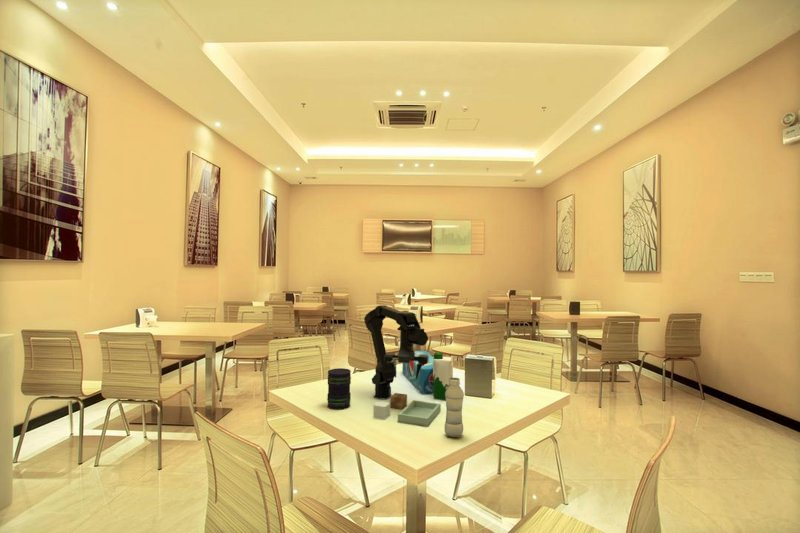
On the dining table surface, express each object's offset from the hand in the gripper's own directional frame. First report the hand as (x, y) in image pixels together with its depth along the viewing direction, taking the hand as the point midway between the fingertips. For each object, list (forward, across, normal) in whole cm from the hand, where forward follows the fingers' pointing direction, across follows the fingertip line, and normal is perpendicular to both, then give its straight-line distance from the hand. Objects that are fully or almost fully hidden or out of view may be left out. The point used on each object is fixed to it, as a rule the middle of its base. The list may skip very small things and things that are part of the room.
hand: (406, 378), depth 168 cm
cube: (+12, -7, -14) cm, 20 cm away
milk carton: (+12, +15, +16) cm, 25 cm away
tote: (+12, +8, -11) cm, 18 cm away
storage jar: (+13, -28, -6) cm, 31 cm away
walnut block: (+12, -3, -1) cm, 13 cm away
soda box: (+13, +3, +38) cm, 40 cm away
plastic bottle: (+12, +22, -27) cm, 36 cm away
